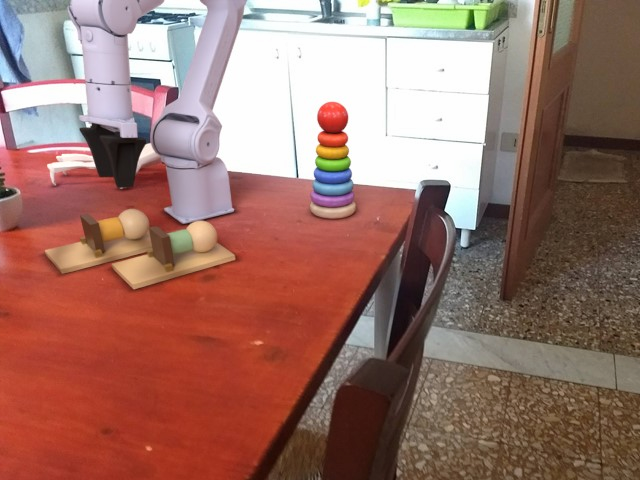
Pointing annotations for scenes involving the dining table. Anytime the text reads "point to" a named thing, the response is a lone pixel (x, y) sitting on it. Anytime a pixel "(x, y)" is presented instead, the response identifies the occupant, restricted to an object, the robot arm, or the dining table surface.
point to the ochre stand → (96, 253)
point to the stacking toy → (332, 166)
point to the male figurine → (77, 161)
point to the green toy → (182, 241)
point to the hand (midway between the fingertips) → (115, 181)
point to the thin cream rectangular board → (169, 266)
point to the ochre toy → (114, 228)
